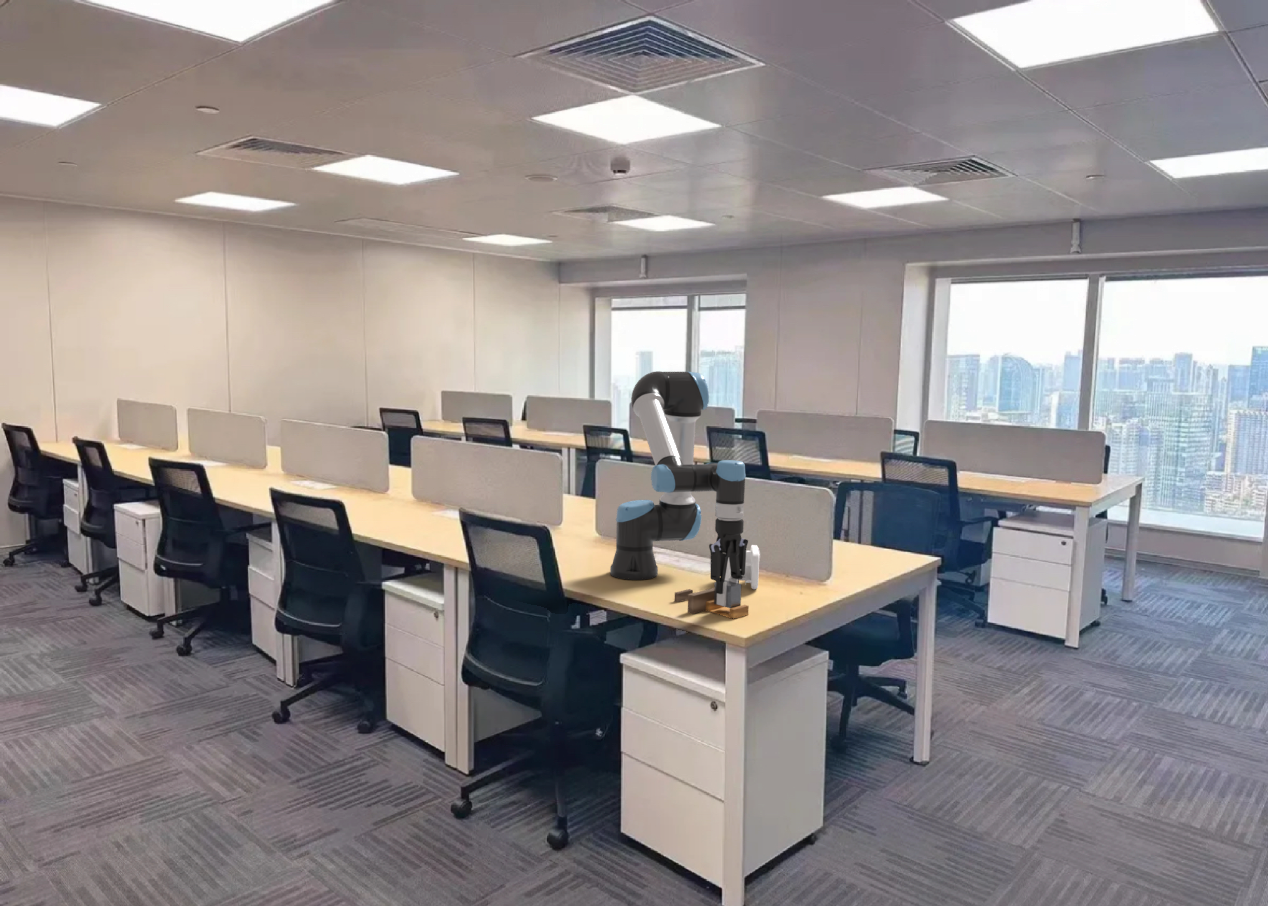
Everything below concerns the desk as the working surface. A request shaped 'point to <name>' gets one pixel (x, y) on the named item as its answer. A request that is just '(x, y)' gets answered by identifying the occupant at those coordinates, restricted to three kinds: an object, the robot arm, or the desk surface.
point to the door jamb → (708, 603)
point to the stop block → (730, 594)
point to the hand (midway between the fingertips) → (727, 603)
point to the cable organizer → (749, 567)
